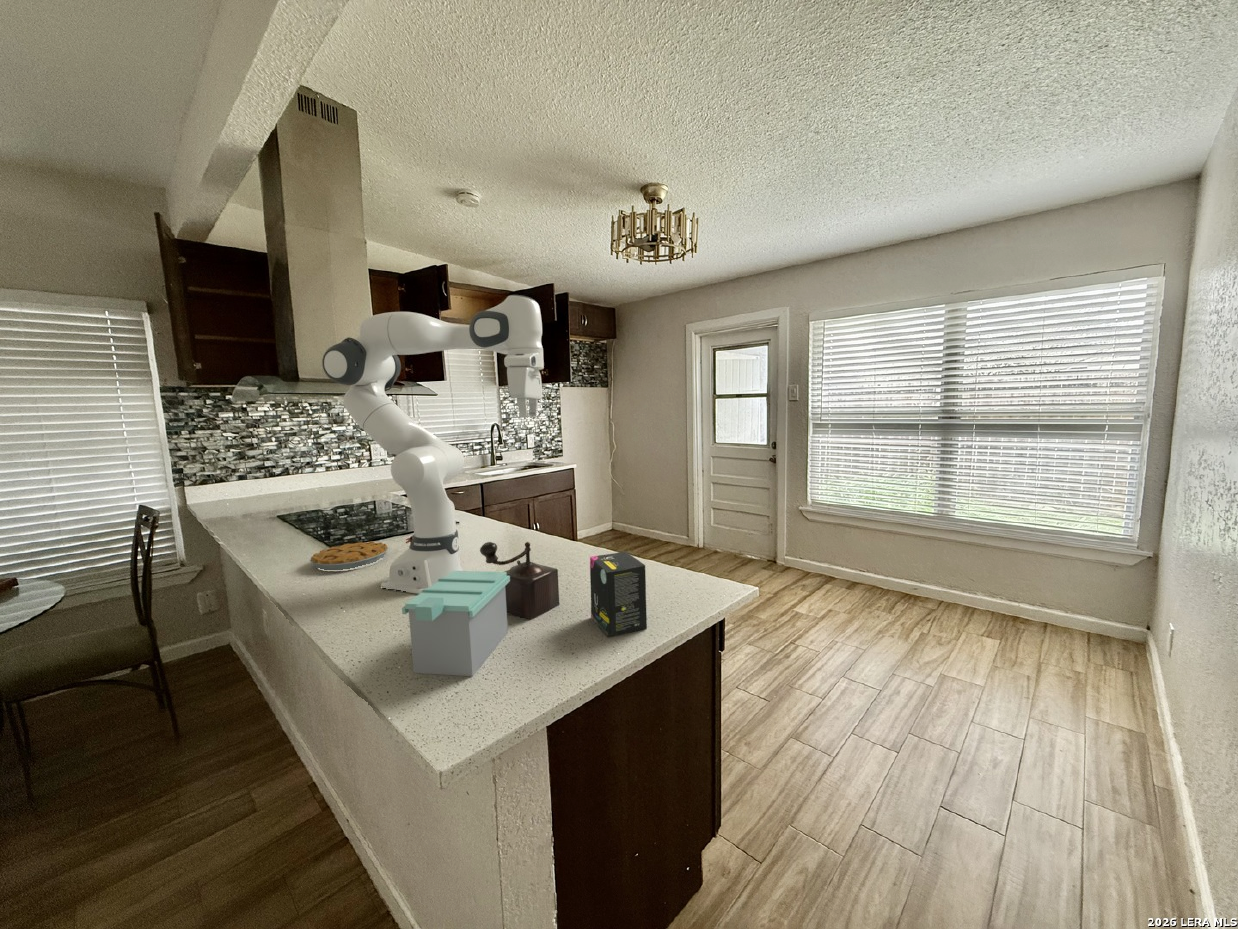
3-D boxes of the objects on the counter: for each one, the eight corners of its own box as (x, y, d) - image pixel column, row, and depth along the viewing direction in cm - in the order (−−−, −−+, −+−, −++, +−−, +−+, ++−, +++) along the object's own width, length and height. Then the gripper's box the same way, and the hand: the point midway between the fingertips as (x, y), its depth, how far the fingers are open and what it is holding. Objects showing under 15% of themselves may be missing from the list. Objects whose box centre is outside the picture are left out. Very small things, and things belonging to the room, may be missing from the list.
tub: (413, 672, 85) (408, 608, 84) (457, 630, 101) (453, 575, 100) (472, 676, 83) (468, 610, 82) (507, 632, 100) (504, 577, 98)
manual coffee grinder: (528, 595, 120) (525, 528, 118) (560, 604, 113) (557, 533, 111) (480, 618, 107) (475, 543, 105) (513, 630, 101) (508, 550, 99)
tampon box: (590, 617, 106) (588, 556, 104) (626, 610, 110) (625, 550, 108) (608, 638, 96) (605, 571, 94) (647, 629, 100) (646, 564, 98)
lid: (388, 624, 80) (386, 605, 79) (450, 579, 101) (449, 564, 100) (461, 627, 78) (460, 608, 77) (510, 581, 99) (509, 565, 98)
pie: (403, 554, 159) (401, 540, 159) (353, 576, 138) (351, 560, 137) (350, 551, 164) (349, 537, 164) (294, 572, 143) (292, 557, 143)
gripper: (524, 366, 127) (526, 416, 129) (501, 358, 107) (504, 417, 108) (546, 365, 127) (548, 416, 128) (528, 357, 106) (531, 417, 108)
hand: (528, 416), depth 118 cm, fingers open, 8 cm apart
